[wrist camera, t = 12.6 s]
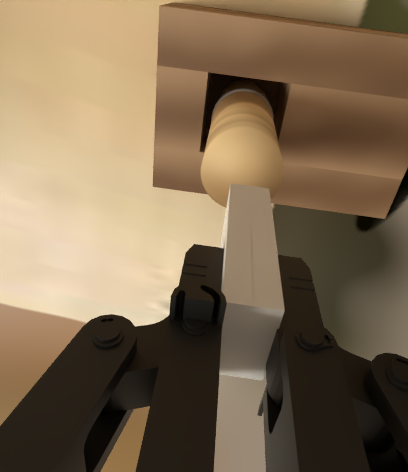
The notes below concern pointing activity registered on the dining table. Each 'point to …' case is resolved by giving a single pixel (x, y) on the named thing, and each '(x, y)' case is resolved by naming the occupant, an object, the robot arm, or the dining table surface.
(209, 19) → the seat block
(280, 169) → the peg
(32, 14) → the dining table surface
